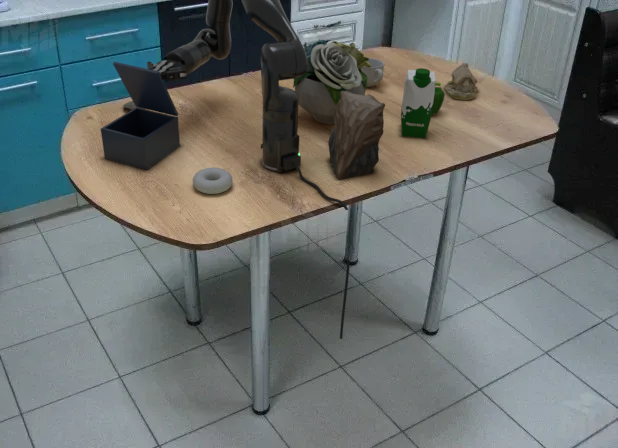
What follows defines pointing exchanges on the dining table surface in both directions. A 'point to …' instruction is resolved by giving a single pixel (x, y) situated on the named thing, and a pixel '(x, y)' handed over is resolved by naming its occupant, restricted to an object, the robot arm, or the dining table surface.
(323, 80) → the flower arrangement
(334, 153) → the brown rough block
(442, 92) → the bell pepper
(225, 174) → the donut
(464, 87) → the ceramic model
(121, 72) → the lid
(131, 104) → the soupspoon
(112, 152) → the chest
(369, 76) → the teacup
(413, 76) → the milk carton
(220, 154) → the dining table surface
